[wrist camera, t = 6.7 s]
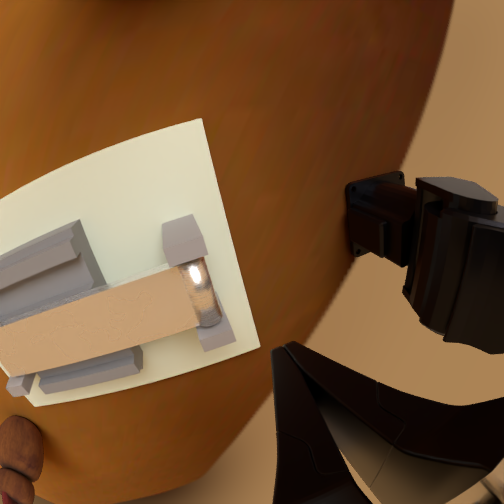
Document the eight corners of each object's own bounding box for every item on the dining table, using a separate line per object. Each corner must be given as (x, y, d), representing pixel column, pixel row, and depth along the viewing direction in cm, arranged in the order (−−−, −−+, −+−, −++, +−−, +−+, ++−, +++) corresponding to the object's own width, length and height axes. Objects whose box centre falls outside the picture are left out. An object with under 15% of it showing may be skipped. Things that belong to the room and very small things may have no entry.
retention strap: (200, 249, 16) (205, 259, 14) (219, 306, 17) (225, 320, 16) (-13, 324, 12) (-22, 337, 11) (16, 367, 14) (10, 380, 13)
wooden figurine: (49, 444, 22) (45, 543, 9) (11, 431, 20) (-2, 525, 6) (43, 418, 20) (32, 533, 7) (0, 401, 18) (-23, 509, 5)
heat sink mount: (199, 119, 16) (215, 108, 11) (256, 339, 24) (281, 384, 19) (-60, 241, 12) (-96, 268, 7) (36, 399, 19) (26, 441, 14)
